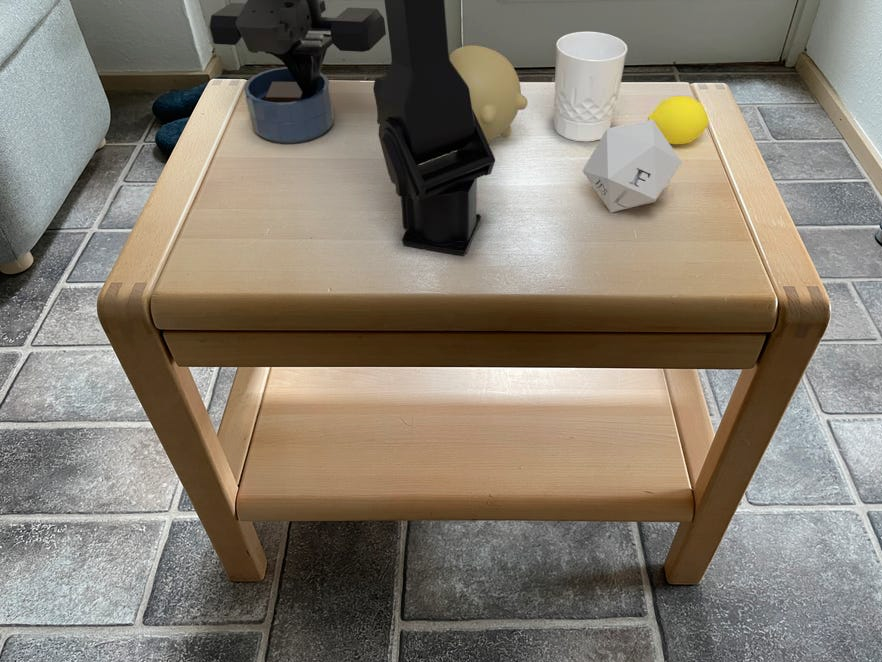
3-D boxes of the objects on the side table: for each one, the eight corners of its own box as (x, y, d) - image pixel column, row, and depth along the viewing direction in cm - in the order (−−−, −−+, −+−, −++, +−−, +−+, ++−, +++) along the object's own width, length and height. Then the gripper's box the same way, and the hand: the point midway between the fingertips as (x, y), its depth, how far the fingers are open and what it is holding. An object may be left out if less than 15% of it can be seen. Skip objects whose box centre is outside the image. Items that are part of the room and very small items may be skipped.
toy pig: (498, 151, 93) (457, 74, 92) (553, 105, 83) (507, 18, 82) (438, 177, 88) (394, 95, 87) (489, 131, 78) (439, 38, 77)
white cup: (622, 142, 88) (636, 58, 81) (557, 147, 87) (566, 62, 80) (604, 111, 93) (615, 29, 86) (542, 115, 92) (549, 33, 85)
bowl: (346, 112, 92) (341, 72, 88) (314, 150, 85) (308, 109, 82) (274, 101, 94) (267, 62, 90) (238, 138, 87) (228, 97, 84)
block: (311, 113, 91) (306, 81, 88) (305, 129, 88) (300, 97, 85) (278, 113, 91) (272, 81, 88) (271, 129, 88) (265, 97, 85)
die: (564, 206, 79) (602, 168, 70) (587, 134, 82) (627, 88, 72) (635, 236, 81) (681, 203, 71) (656, 165, 83) (703, 123, 73)
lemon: (702, 132, 90) (712, 89, 86) (705, 155, 86) (717, 111, 82) (643, 128, 90) (651, 85, 86) (644, 150, 87) (652, 106, 83)
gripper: (160, -25, 73) (205, 126, 84) (335, -20, 69) (360, 139, 80) (217, -54, 81) (252, 87, 92) (377, -51, 77) (395, 97, 87)
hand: (311, 102), depth 87 cm, fingers closed
